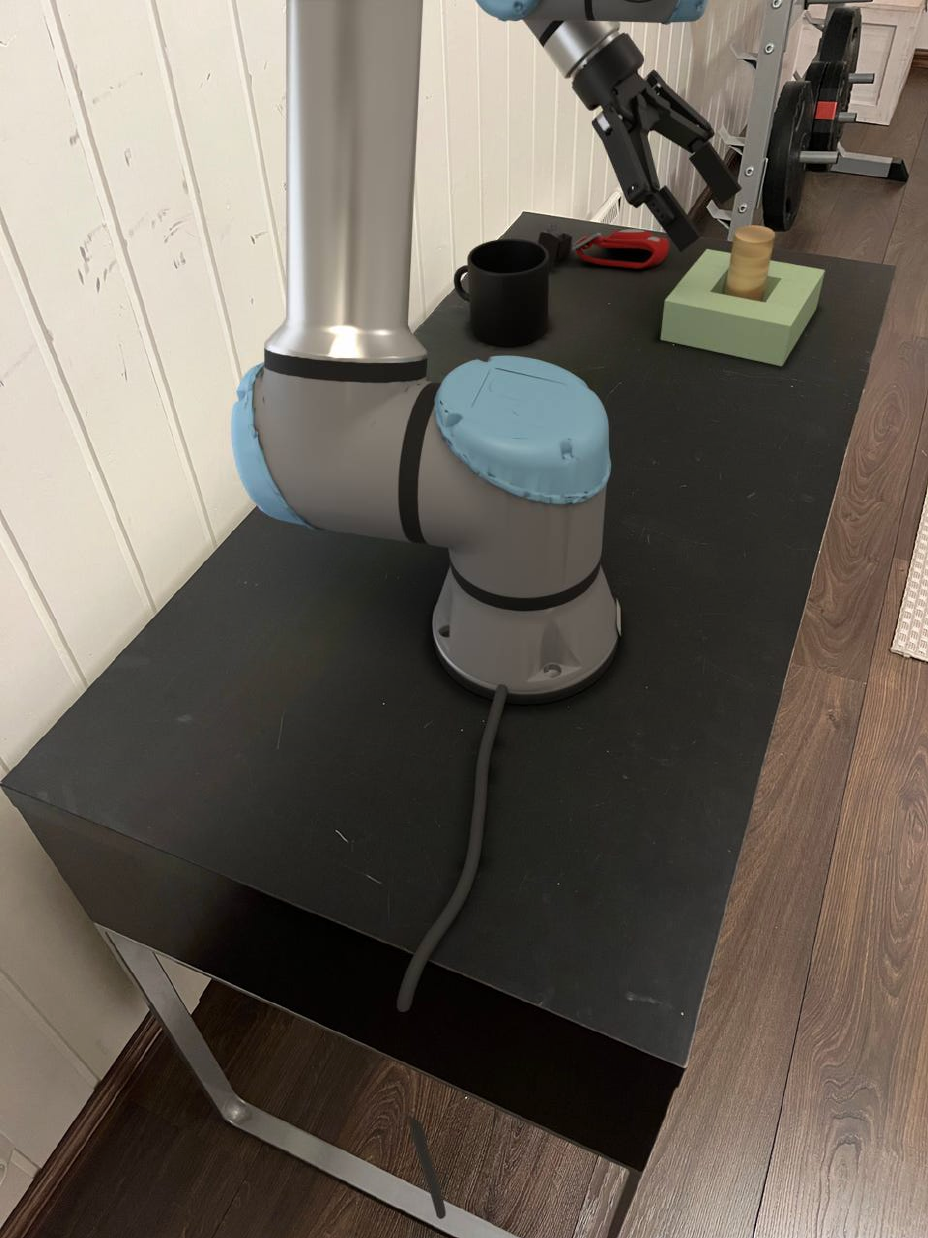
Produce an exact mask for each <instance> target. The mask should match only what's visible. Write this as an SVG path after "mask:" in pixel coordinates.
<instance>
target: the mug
mask: <svg viewBox="0 0 928 1238" xmlns="http://www.w3.org/2000/svg"><path fill="white" fill-rule="evenodd" d="M466 262H467V264H465V265H462V266H460V267H458V268H457V269H456V271H455V273H454V274H453V286H454V289H455V291H456V293H457V294H458V296H459V297H460V298H461V299H463V301H465V302H468V303H469V324H470V325H469V326H470V330H471V333H472V334H473V337H475V338H476V339H478V340H479V341H481V342H483V343H485V344H488V345H491V346H495V347H518V346H524V345H528V344H530V343H533V342H535V341H537V340H539V339H540V338H542V337H543V335H545V333H546V331H547V329H548V328H549V298H550V297H549V293H550V292H549V291H550V288H549V287H550V269H549V254H548V251H547V250H546V248H544V247H543V246H542V245H540V244H538V242H535V241H532V240H530V239H529V240H528V239H523V238H500V239H493V240H489V241H486V242H483V243H481V244H478V245H477V246H475V247H474V248H471V250H470V251H469V253H468V255H467V257H466ZM464 274H467V282H468V283H467V285H468V292H467V291H466V290H465V289H464V287H463V284H462V277H463V275H464Z"/></svg>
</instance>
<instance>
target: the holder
mask: <svg viewBox="0 0 928 1238" xmlns="http://www.w3.org/2000/svg"><path fill="white" fill-rule="evenodd" d="M730 257H731V252H726V251H721V250H715V249H710V248H706V249H705V250H704V252H703V253H702V254H701V255H700V256H699V258H698V259H697V260H696V261H695V262H694V264H693V265H692V266H691V267H690V269H689V270H688V271H687V272H686V273H685V275H684V276H683V277H682V278H681V280H680V281H679V282H678V283H677V284H676V286H675V287H674V289H672V291H671V292H670V293H669V295H667V297H666V298H665V299H664V305H663V312H662V322H661V331H660V341H664V342H669V343H673V344H678V345H683V346H687V347H692V348H697V349H701V350H705V351H711V352H715V353H720V354H724V355H728V356H733V357H737V358H742V359H746V360H750V361H756V362H759V363H760V362H761V363H764V364H769V365H773V366H777V367H783V365H784V364H785V362H786V361H787V359H788V357H789V356H790V354H791V352H792V351H793V349H794V347H795V346H796V344H797V342H798V341H799V339H800V337H801V335H802V334H803V332H804V330H805V328H806V327H807V325H808V324H809V322H810V320H811V318H812V317H813V315H814V314H815V312H816V310H817V307H818V303H819V298H820V295H821V289H822V285H823V281H824V278H825V274H826V273H825V272H826V270H825V269H821V268H816V267H810V266H806V265H798V264H793V263H788V262H783V261H777V260H772V259H771V260H770V265H769V270H768V276H767V281H766V286H765V291H764V297H763V302H759V301H754V300H749V299H744V298H739V297H734V296H729V295H725V289H726V282H727V276H728V270H729V263H730Z"/></svg>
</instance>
